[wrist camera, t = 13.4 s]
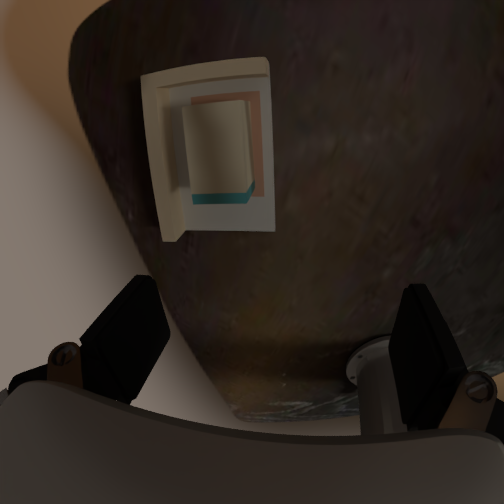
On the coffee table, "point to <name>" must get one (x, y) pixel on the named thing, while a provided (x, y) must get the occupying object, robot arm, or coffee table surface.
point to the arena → (174, 149)
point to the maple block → (219, 152)
